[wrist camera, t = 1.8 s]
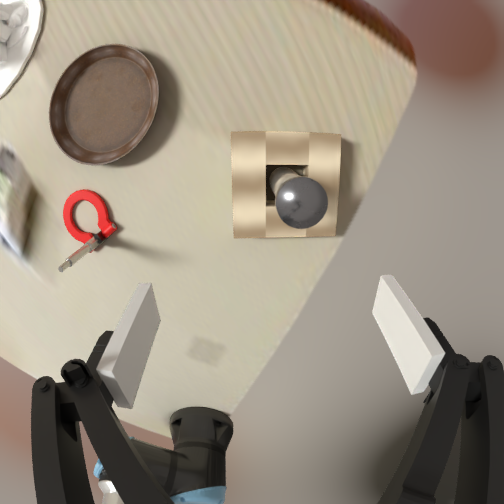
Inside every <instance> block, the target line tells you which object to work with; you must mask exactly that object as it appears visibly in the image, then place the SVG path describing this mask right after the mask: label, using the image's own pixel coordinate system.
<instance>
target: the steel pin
mask: <svg viewBox="0 0 504 504" xmlns="http://www.w3.org/2000/svg"><path fill="white" fill-rule="evenodd" d="M269 185H270V188H271V189H272V191H273V193H274V195H275V207H276V210H277V213H278V215H279V217H280V218H281V220H282V221H283V222H284V223H285V224H287V225H288V226H290V227H293V228H296V229H306V228H310V227H312V226H314V225H316V224H317V223H319V222H320V221H321V220H322V218H323V217H324V215H325V213H326V211H327V207H328V197H327V194H326V191H325V190H324V188H323V187H322V186H321V185H320V184H319V183H318V182H317V181H315V180H314V179H312V178H309V177H306V176H299V175H298V174H297V173H295V172H294V171H293V170H291V169H289V168H287V167H280V168H277V169H275V170H274V171H273V172H272V173H271V175H270V177H269Z"/></svg>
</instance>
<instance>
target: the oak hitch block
mask: <svg viewBox="0 0 504 504" xmlns="http://www.w3.org/2000/svg"><path fill="white" fill-rule="evenodd" d="M340 156H341V134H330V133H313V132H284V131H242V132H231V161H232V198H233V230H234V238H268V237H314V236H335V234H336V223H337V210H338V196H339V179H340ZM266 165H303V176H306V177H309V178H312V179H314V180H315V181H317V182H318V183H319V184H320V185H321V186H322V187H323V188H324V190H325V191H326V194H327V197H328V207H327V211H326V213H325V215H324V217H323V218H322V220H321V221H320V222H319V223H317V224H316V225H314V226H312V227H310V228H306V229H296V228H293V227H290V226H288V225H287V224H285V223H284V222H283V221H282V220H281V218H280V217H279V215H278V213H277V210H276V207H275V200H266Z"/></svg>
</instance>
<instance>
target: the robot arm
mask: <svg viewBox="0 0 504 504" xmlns="http://www.w3.org/2000/svg"><path fill="white" fill-rule="evenodd" d="M372 314H373V316H374V318H375V320H376V321H377V323H378V325H379V327H380V329H381V331H382V333H383V335H384V337H385V339H386V341H387V343H388V345H389V347H390V350H391V351H392V354H393V356H394V358H395V360H396V362H397V364H398V366H399V368H400V371H401V373H402V375H403V377H404V379H405V382H406V384H407V386H408V388H409V390H410V393H411V394H416V393H420V392H424V391H425V389H426V387H427V386H428V384H429V386H430V388H431V391H430V393H429V394H428V396H427V398H426V399H425V400H424V403H425V402H426V403H425V406H424V409H423V411H422V414H421V416H420V419H419V421H418V424H417V427H416V429H415V431H414V433H413V436H412V438H411V440H410V442H409V445H408V447H407V449H406V451H405V453H404V455H403V457H402V460H401V462H400V464H399V466H398V468H397V470H396V471H395V473H394V475H393V477H392V479H391V481H390V483H389V484H388V486H387V488H386V490H385V492H384V493H383V495H382V497H381V498H380V500H379V502H378V504H435V502H436V499H435V497H434V494H435V491H436V489H437V486H438V484H439V482H440V479H441V477H442V474H443V471H444V469H445V466H446V463H447V461H448V458H449V455H450V451H451V449H452V445H453V442H454V439H455V436H456V432H457V429H458V425H459V422H460V418H461V446H460V462H459V472H458V480H457V488H456V495H455V501H454V504H504V370H503V366H502V363H501V361H500V360H499V359H498V358H496V357H495V356H492V355H488V356H486V357H484V359H483V361H482V362H481V363H475V362H470V361H469V360H468V359H467V358H466V357H465V356H463V355H461V354H456V353H455V352H454V350H453V349H452V347H451V345H450V344H449V343H448V341H447V339H446V338H445V336H443V333H442V332H441V331H440V329H439V328H438V326H437V325H436V323H435V322H433V321H432V320H431V319H430V318H422V316H421V315H420V313H419V312H418V311H417V309H416V308H415V306H414V305H413V304H412V302H411V300H410V299H409V298H408V296H407V295H406V293H405V292H404V291H403V289H402V288H401V286H400V285H399V284H398V282H397V281H396V280H395V278H394V277H393V275H381V277H380V281H379V285H378V290H377V294H376V299H375V303H374V307H373V311H372ZM160 321H161V320H160V316H159V312H158V308H157V304H156V300H155V296H154V292H153V288H152V284H151V283H139V284H138V286H137V288H136V290H135V292H134V293H133V295H132V297H131V299H130V301H129V303H128V305H127V307H126V309H125V311H124V313H123V315H122V316H121V318H120V320H119V322H118V324H117V326H116V328H115V330H114V331H105V332H104V333H103V334H102V335H101V336H100V337H99V339H98V341H97V343H96V346H95V347H94V349H93V352H92V353H91V355H90V357H89V359H88V361H87V363H85V362H84V361H83V360H81V359H73V360H70V361H68V362H67V363H65V365H64V366H63V367H62V369H61V376H62V377H63V379H64V380H65V382H61V383H55V381H54V380H53V379H52V378H51V377H49V376H43V377H41V378H39V379H38V380H36V382H35V383H34V385H33V389H32V409H31V410H32V411H31V439H32V441H31V442H32V461H33V473H34V483H35V490H36V497H37V504H95V503H94V500H93V496H92V492H91V488H90V484H89V479H88V474H87V469H86V464H85V459H84V454H83V448H82V441H81V434H80V427H79V421H82V423H83V425H84V427H85V430H86V432H87V435H88V437H89V439H90V441H91V444H92V445H93V448H94V450H95V452H96V454H97V456H98V458H99V460H98V461H97V463H96V466H95V469H94V475H95V476H96V477H97V478H99V483H98V485H99V487H100V489H101V490H102V492H103V493H104V497H103V502H102V504H223V503H224V501H225V491H226V466H225V465H226V461H225V454H226V450H227V447H228V445H229V442H230V440H231V438H232V435H233V422H232V421H231V419H230V418H229V417H228V416H226V415H225V414H223V413H221V412H219V411H216V410H213V409H209V408H203V407H189V408H183V409H180V410H178V411H176V412H175V413H173V415H172V416H171V420H170V431H171V435H172V440H173V444H174V451H172V450H169V449H166V448H162V447H159V446H156V445H153V444H149V443H147V442H144V441H141V440H138V439H135V438H134V437H129V436H128V435H127V433H126V432H125V430H124V428H123V426H122V425H121V423H120V421H119V419H118V417H117V416H116V414H115V412H114V410H113V408H112V407H111V406H112V403H113V400H114V401H115V403H116V405H117V406H118V407H123V408H129V409H132V408H133V404H134V401H135V398H136V394H137V391H138V388H139V385H140V381H141V378H142V375H143V372H144V369H145V366H146V362H147V359H148V356H149V353H150V350H151V347H152V344H153V341H154V338H155V335H156V333H157V330H158V327H159V324H160Z"/></svg>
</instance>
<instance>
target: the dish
mask: <svg viewBox="0 0 504 504" xmlns="http://www.w3.org/2000/svg"><path fill="white" fill-rule="evenodd" d="M43 11H44V9H43V5H42V0H0V98H1V97H2V96H3V95H5V94H6V93H7V91H8V90H9V89H10V87H11V86H12V85H13V84H14V82H15V81H16V80H17V79H18V77H19V76H20V75H21V73H22V71H23V69H24V67H25V65H26V63H27V62H28V60H29V58H30V56H31V55H32V53H33V50H34V47H35V44H36V41H37V39H38V36H39V33H40V31H41V25H42V18H43Z"/></svg>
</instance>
